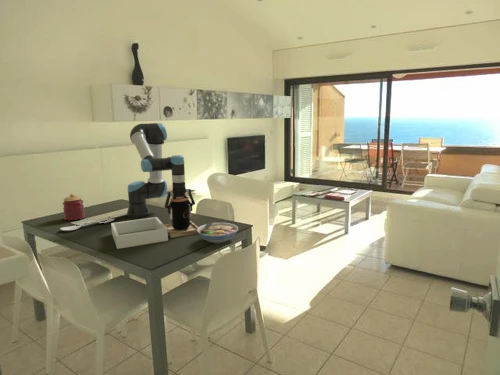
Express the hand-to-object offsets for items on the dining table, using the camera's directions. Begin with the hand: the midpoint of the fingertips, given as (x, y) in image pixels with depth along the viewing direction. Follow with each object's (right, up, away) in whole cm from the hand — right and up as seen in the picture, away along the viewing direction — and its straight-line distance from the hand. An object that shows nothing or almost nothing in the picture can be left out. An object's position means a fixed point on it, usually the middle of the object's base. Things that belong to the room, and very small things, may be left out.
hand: (180, 217), depth 220 cm
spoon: (-62, -7, +14) cm, 64 cm away
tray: (0, -8, +2) cm, 8 cm away
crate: (-22, -11, -9) cm, 26 cm away
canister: (-79, -4, +33) cm, 86 cm away
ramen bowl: (+24, -12, -18) cm, 32 cm away
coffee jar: (0, -6, +1) cm, 6 cm away
